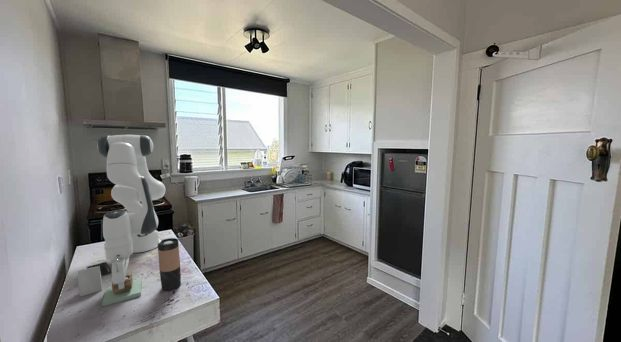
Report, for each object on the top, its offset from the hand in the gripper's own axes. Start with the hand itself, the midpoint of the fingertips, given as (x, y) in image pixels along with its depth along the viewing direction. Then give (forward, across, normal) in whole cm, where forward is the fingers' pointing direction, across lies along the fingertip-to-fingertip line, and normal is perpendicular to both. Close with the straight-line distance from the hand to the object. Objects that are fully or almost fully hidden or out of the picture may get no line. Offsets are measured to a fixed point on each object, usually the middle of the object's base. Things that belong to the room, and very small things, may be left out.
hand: (122, 283), depth 101 cm
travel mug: (+4, -5, -17) cm, 18 cm away
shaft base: (+4, 0, 0) cm, 4 cm away
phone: (+5, +29, +12) cm, 32 cm away
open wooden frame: (+2, 0, 0) cm, 2 cm away
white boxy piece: (+4, +9, +12) cm, 15 cm away
